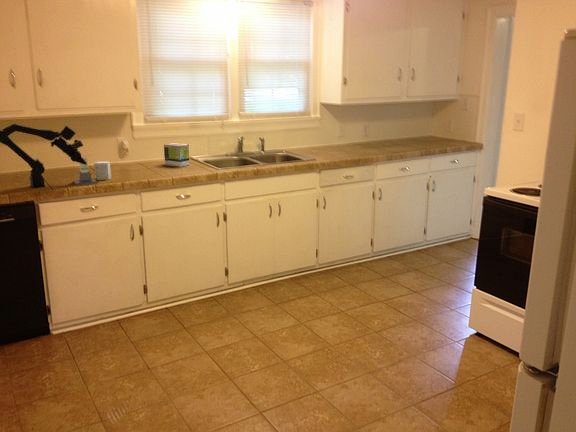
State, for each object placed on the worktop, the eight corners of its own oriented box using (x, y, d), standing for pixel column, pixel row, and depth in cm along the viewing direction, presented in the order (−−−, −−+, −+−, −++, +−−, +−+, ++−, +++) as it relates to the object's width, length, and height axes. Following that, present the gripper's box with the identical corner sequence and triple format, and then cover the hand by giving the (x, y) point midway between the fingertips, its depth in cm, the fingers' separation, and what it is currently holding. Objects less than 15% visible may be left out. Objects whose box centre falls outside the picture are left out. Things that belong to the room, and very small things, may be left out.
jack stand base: (75, 185, 314) (74, 175, 312) (73, 181, 324) (72, 171, 323) (97, 183, 319) (96, 173, 317) (94, 179, 330) (93, 169, 328)
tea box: (190, 165, 378) (189, 144, 374) (180, 167, 370) (179, 146, 366) (174, 162, 386) (173, 142, 382) (164, 165, 378) (163, 144, 374)
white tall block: (81, 174, 318) (79, 158, 315) (80, 173, 321) (78, 156, 318) (88, 174, 319) (87, 157, 317) (87, 172, 323) (86, 156, 320)
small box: (111, 177, 335) (110, 161, 332) (108, 179, 330) (107, 163, 327) (98, 177, 335) (97, 161, 332) (95, 179, 329) (94, 163, 326)
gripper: (75, 137, 304) (97, 155, 312) (72, 134, 320) (93, 151, 328) (61, 152, 303) (84, 170, 311) (59, 147, 319) (80, 164, 327)
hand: (86, 163), depth 319 cm, fingers closed on white tall block, 4 cm apart
